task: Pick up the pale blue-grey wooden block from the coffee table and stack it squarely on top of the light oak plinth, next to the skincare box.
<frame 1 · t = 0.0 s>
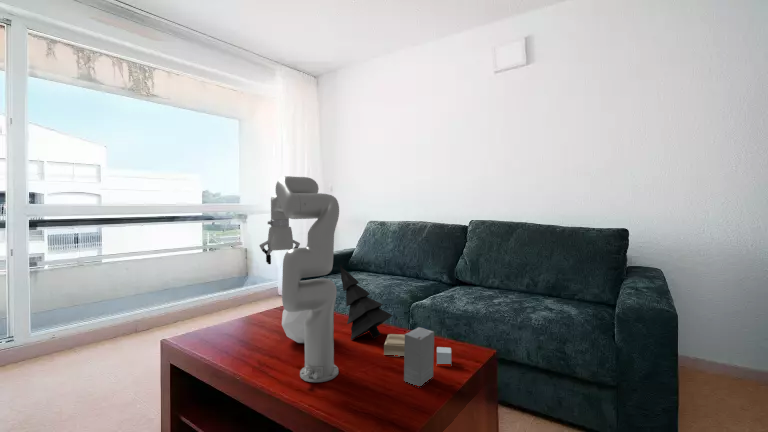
hand: (280, 263, 158), 31 cm above the table, tool pointing down, fingers open, 9 cm apart
geometric sculpture: (306, 341, 150), on the table
decorative tree: (361, 335, 157), on the table
block: (443, 364, 128), on the table
plinth: (401, 350, 141), on the table
skincare box: (419, 381, 116), on the table
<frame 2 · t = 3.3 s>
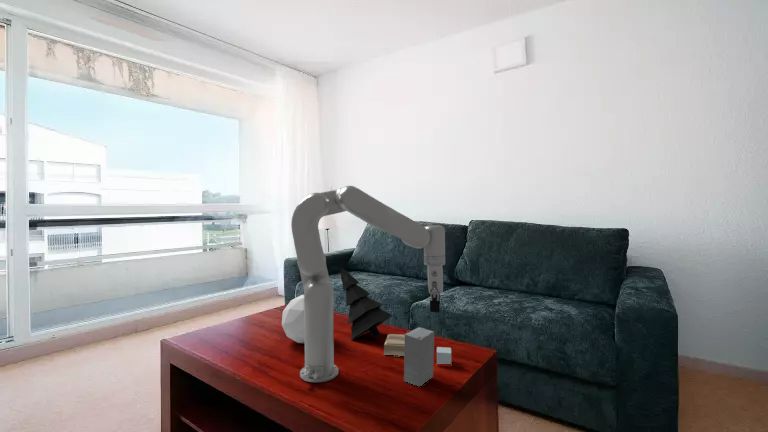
hand: (435, 307, 129), 19 cm above the table, tool pointing down, fingers open, 9 cm apart
nothing on the table moved.
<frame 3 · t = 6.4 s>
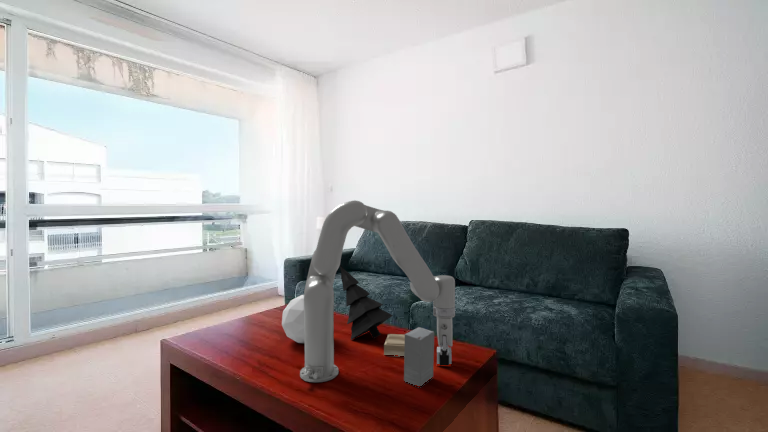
hand: (444, 361, 128), 1 cm above the table, tool pointing down, fingers closed on block, 5 cm apart
block: (444, 363, 128), on the table, touching gripper
everything else where it was.
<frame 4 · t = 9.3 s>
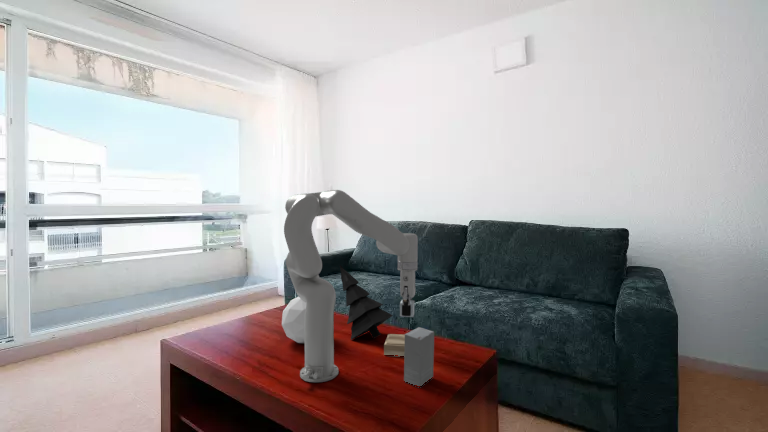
hand: (407, 312, 138), 15 cm above the table, tool pointing down, fingers closed on block, 5 cm apart
block: (407, 314, 138), point 14 cm above the table, touching gripper
everything else where it was.
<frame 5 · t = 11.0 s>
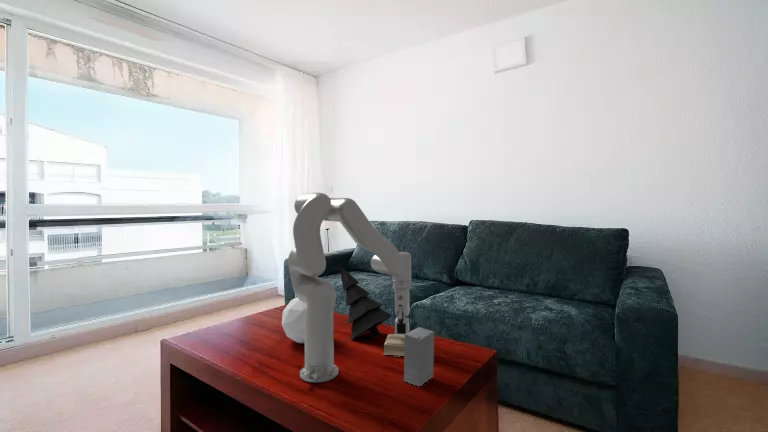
hand: (402, 330, 141), 8 cm above the table, tool pointing down, fingers closed on block, 5 cm apart
block: (402, 332, 141), point 7 cm above the table, touching gripper
everything else where it was.
when the fingers open (6 cm above the table, at t = 12.2 s): block stays where it is, resting on plinth.
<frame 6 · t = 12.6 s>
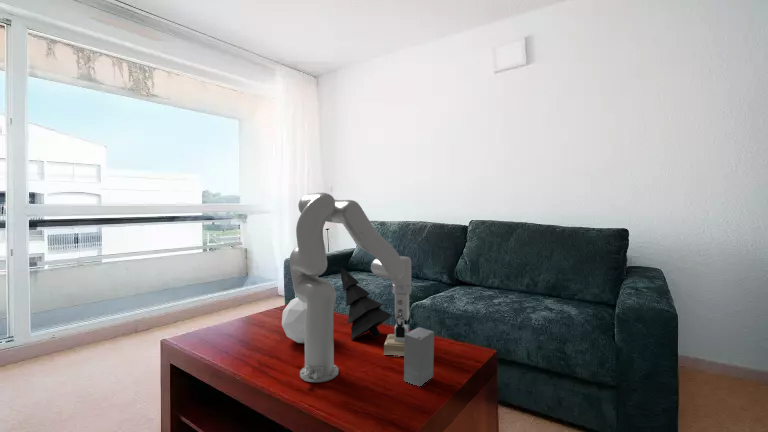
hand: (401, 332, 140), 7 cm above the table, tool pointing down, fingers open, 9 cm apart
block: (401, 339, 140), point 4 cm above the table, touching plinth
everything else where it was.
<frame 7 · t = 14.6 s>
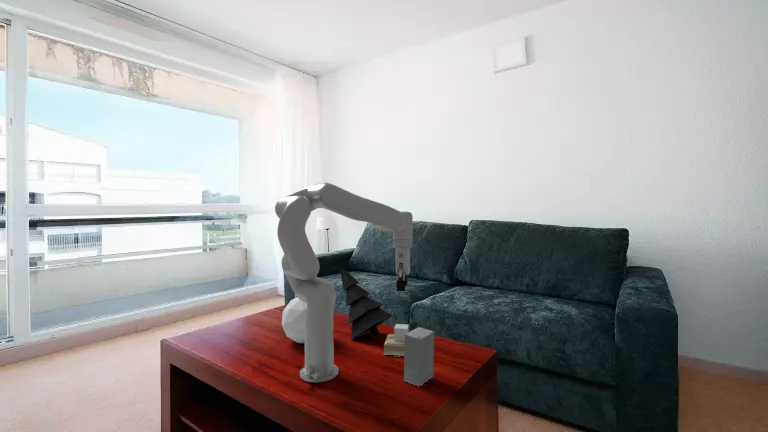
hand: (402, 288, 139), 24 cm above the table, tool pointing down, fingers open, 9 cm apart
nothing on the table moved.
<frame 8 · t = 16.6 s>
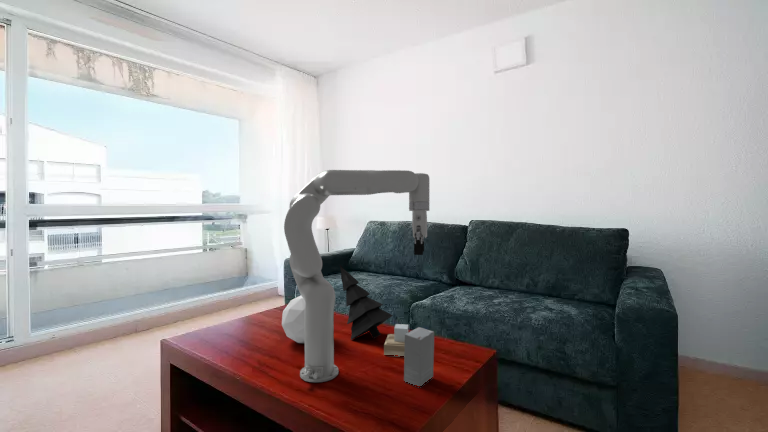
hand: (419, 253, 135), 38 cm above the table, tool pointing down, fingers open, 9 cm apart
nothing on the table moved.
at the end: block inside the target area on the plinth (0.0 cm from its centre), point 4.3 cm above the plinth's base; block tilted 0°; the gripper is holding nothing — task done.
